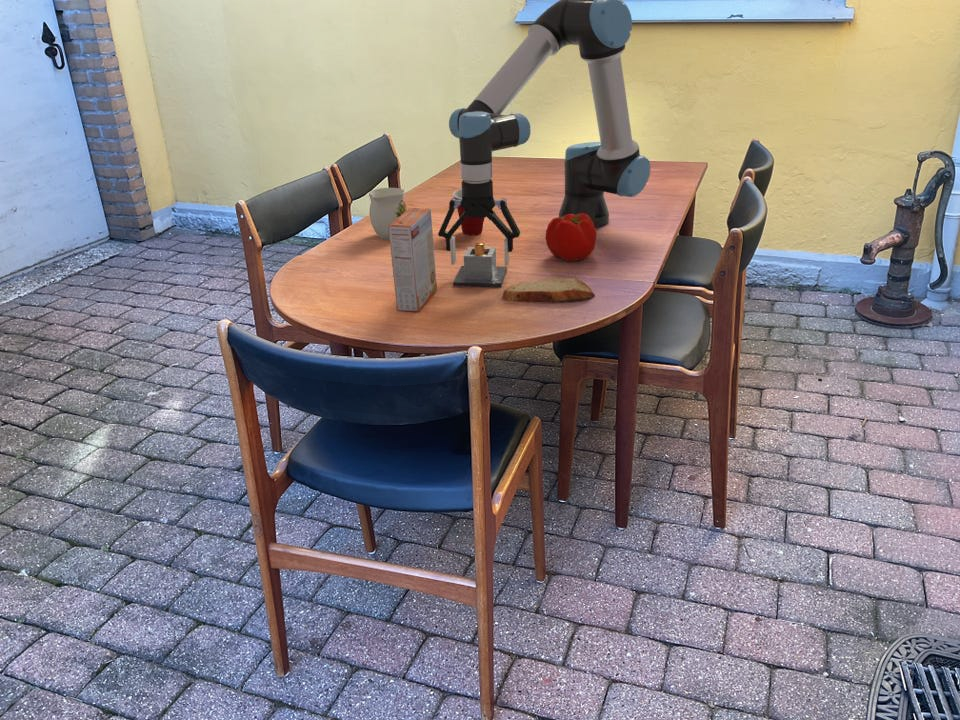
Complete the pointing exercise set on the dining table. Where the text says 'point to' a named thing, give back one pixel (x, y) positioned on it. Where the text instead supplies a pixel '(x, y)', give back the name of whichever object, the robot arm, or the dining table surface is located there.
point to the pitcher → (386, 209)
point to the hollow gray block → (480, 264)
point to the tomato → (571, 236)
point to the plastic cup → (468, 219)
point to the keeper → (494, 282)
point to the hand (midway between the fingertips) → (480, 263)
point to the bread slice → (549, 291)
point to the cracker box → (413, 259)
